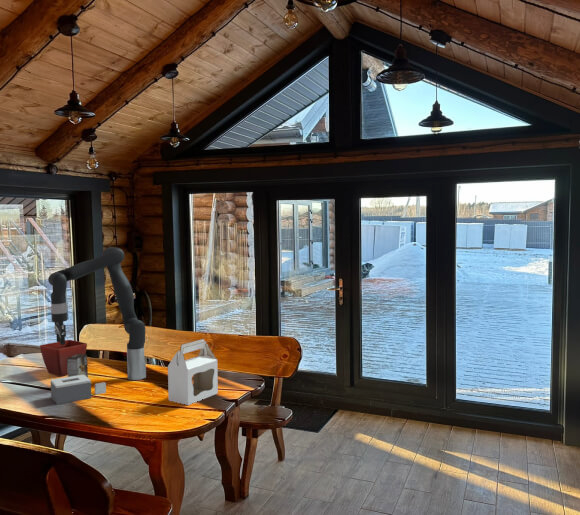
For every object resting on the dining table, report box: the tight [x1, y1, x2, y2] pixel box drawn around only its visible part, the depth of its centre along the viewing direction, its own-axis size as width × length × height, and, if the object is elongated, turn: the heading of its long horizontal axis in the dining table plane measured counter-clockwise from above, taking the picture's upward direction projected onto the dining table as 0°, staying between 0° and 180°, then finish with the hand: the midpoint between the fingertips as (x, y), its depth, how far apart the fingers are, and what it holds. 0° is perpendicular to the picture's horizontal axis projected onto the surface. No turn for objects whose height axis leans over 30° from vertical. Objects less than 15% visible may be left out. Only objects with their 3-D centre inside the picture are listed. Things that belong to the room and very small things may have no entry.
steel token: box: [94, 381, 107, 395], centre depth 273 cm, size 5×2×5 cm, turn 125°
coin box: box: [50, 374, 92, 405], centre depth 266 cm, size 16×13×9 cm
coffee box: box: [67, 354, 89, 378], centre depth 286 cm, size 9×6×16 cm
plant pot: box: [39, 339, 88, 377], centre depth 311 cm, size 19×19×17 cm
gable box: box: [167, 338, 219, 406], centre depth 266 cm, size 22×13×28 cm, turn 147°
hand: (60, 343), depth 272 cm, fingers open, 8 cm apart
